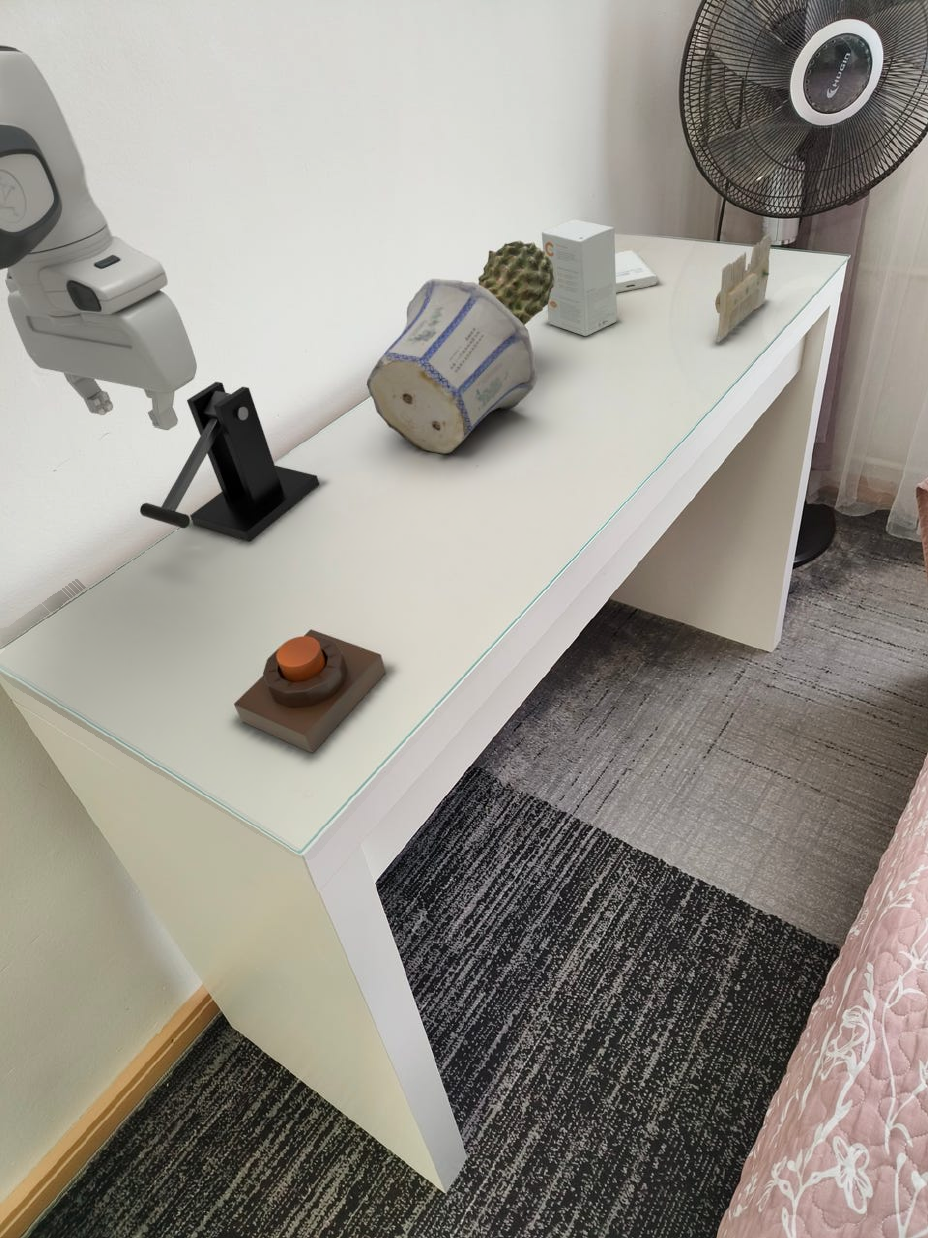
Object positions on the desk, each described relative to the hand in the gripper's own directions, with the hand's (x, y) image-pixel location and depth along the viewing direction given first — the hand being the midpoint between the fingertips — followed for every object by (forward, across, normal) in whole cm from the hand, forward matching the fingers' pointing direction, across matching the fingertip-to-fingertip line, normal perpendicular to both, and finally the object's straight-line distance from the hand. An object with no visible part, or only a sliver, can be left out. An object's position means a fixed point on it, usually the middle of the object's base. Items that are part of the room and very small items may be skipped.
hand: (134, 418), depth 81 cm
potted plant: (+17, +13, +39) cm, 45 cm away
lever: (+8, 0, +6) cm, 10 cm away
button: (+13, +26, -11) cm, 31 cm away
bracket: (+16, 0, +10) cm, 19 cm away
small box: (+17, +14, +65) cm, 69 cm away
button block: (+16, +26, -11) cm, 33 cm away
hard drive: (+17, +12, +82) cm, 85 cm away
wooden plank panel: (+17, +36, +70) cm, 80 cm away
